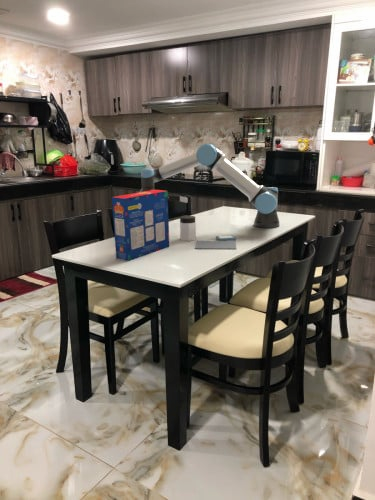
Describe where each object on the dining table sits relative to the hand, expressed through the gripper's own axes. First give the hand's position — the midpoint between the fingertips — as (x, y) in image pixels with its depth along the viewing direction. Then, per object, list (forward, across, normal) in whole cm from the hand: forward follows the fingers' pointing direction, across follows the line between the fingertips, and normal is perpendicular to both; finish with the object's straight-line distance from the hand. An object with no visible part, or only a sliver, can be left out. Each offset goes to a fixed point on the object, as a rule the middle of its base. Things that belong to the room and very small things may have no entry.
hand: (176, 201), depth 209 cm
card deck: (+23, -16, -19) cm, 34 cm away
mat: (+29, -4, -19) cm, 35 cm away
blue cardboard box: (+17, +30, -19) cm, 40 cm away
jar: (+10, 0, -19) cm, 22 cm away
